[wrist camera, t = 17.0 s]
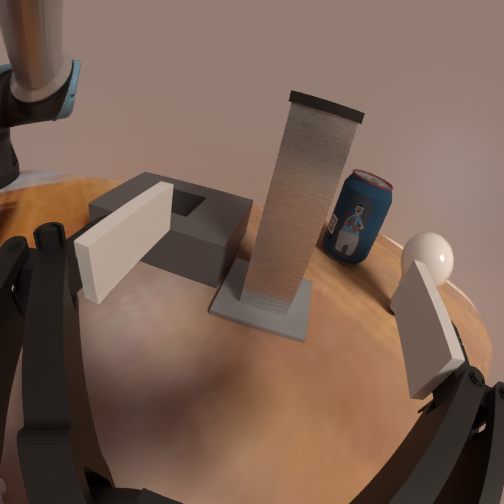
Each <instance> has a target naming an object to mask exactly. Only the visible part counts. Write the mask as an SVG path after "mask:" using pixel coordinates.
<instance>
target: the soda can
mask: <svg viewBox="0 0 504 504" xmlns="http://www.w3.org/2000/svg"><path fill="white" fill-rule="evenodd" d="M392 189H393V186H392V185H391V184H390V183H388V182H387V181H385V180H383V179H382V178H380V177H378V176H376V175H374V174H372V173H369V172H366V171H362V170H358V169H354V170H353V173H352V174H351V175H350V176H349V177H348V178H347V179H346V180H345V182H344V185H343V187H342V191H341V193H340V195H339V199H338V201H337V204H336V207H335V209H334V212H333V214H332V217H331V220H330V222H329V225H328V227H327V230H326V232H325V235H324V238H323V241H324V247H325V251H326V252H327V254H328V255H329V256H330V257H331V258H333V259H334V260H336V261H338V262H340V263H342V264H346V265H356V264H358V263H360V262H362V261H363V260H365V259H366V257H367V256H368V254H369V251H370V249H371V247H372V245H373V243H374V241H375V239H376V237H377V235H378V232H379V230H380V228H381V226H382V224H383V221H384V219H385V217H386V215H387V212H388V210H389V208H390V205H391V203H392Z"/></svg>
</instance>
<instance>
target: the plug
mask: <svg viewBox="0 0 504 504" xmlns="http://www.w3.org/2000/svg"><path fill="white" fill-rule="evenodd" d="M289 101H290V102H292V103H291V107H290V111H289V115H288V118H287V122H286V126H285V130H284V134H283V138H282V141H281V145H280V149H279V153H278V157H277V161H276V164H275V169H274V172H273V176H272V180H271V183H270V188H269V191H268V195H267V199H266V203H265V206H264V210H263V214H262V218H261V222H260V225H259V229H258V233H257V237H256V241H255V245H254V248H253V252H252V256H251V260H250V264H249V267H248V271H247V275H246V279H245V283H244V286H243V290H242V294H241V298H240V303H243V304H246V305H249V306H252V307H255V308H258V309H261V310H265V311H268V312H271V313H274V314H278V315H281V316H284V317H286V316H287V313H288V311H289V309H290V306H291V304H292V302H293V299H294V297H295V295H296V292H297V290H298V287H299V285H300V283H301V280H302V278H303V275H304V273H305V270H306V268H307V266H308V263H309V261H310V258H311V256H312V253H313V250H314V248H315V245H316V243H317V240H318V238H319V235H320V232H321V230H322V227H323V224H324V222H325V219H326V216H327V214H328V211H329V208H330V206H331V203H332V200H333V197H334V194H335V191H336V189H337V186H338V183H339V180H340V177H341V174H342V171H343V168H344V165H345V163H346V159H347V156H348V153H349V150H350V147H351V144H352V141H353V138H354V135H355V132H356V128H357V125H358V123H360V124H362V120H363V117H364V113H362V112H360V111H357V110H354V109H351V108H348V107H345V106H343V105H340V104H336V103H334V102H331V101H327V100H324V99H321V98H318V97H314V96H311V95H307V94H304V93H300V92H296V91H291V94H290V98H289Z"/></svg>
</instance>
